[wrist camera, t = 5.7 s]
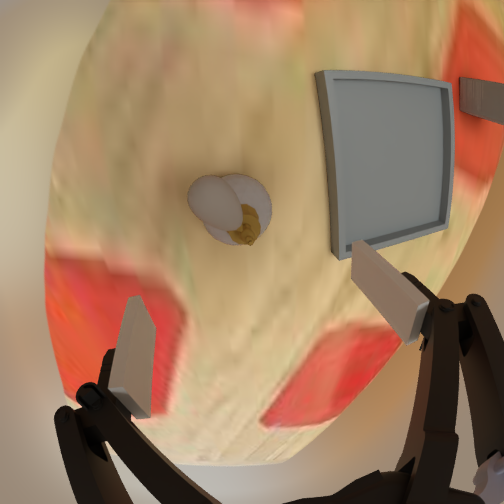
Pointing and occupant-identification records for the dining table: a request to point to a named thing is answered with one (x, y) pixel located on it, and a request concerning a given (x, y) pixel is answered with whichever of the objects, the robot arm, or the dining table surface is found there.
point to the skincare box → (482, 99)
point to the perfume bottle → (231, 207)
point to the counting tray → (386, 156)
